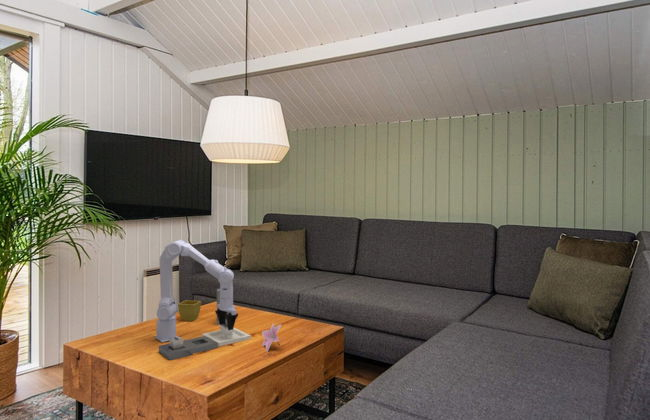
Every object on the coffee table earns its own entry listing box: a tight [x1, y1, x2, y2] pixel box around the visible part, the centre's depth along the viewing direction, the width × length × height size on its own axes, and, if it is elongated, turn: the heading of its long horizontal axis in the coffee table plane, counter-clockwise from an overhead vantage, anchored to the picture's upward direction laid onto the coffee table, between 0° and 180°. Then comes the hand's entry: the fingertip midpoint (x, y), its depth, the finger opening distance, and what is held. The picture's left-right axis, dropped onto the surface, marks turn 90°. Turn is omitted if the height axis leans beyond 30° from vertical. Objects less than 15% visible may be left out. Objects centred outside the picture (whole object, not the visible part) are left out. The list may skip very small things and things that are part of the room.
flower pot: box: [177, 299, 202, 322], centre depth 229 cm, size 9×9×9 cm
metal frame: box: [158, 335, 218, 361], centre depth 185 cm, size 12×20×2 cm, turn 130°
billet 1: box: [169, 336, 184, 350], centre depth 181 cm, size 4×4×6 cm
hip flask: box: [216, 288, 229, 326], centre depth 226 cm, size 16×4×20 cm, turn 170°
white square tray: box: [201, 327, 252, 348], centre depth 199 cm, size 16×16×2 cm
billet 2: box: [219, 323, 233, 340], centre depth 199 cm, size 4×4×6 cm
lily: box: [261, 322, 282, 352], centre depth 190 cm, size 12×12×10 cm
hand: (226, 327), depth 199 cm, fingers open, 7 cm apart
